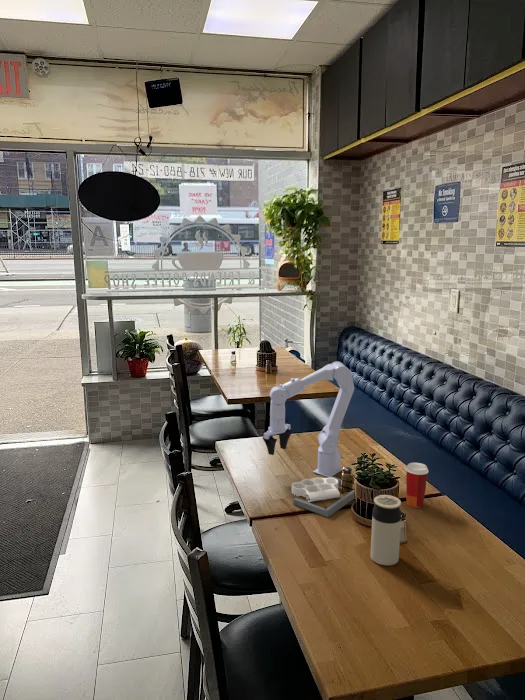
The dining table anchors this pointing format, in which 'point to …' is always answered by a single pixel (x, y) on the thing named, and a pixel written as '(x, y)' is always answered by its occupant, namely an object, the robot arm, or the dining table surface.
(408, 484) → the paper cup
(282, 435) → the robot arm
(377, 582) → the dining table surface
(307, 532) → the dining table surface
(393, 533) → the travel mug
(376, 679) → the dining table surface
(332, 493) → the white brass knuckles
